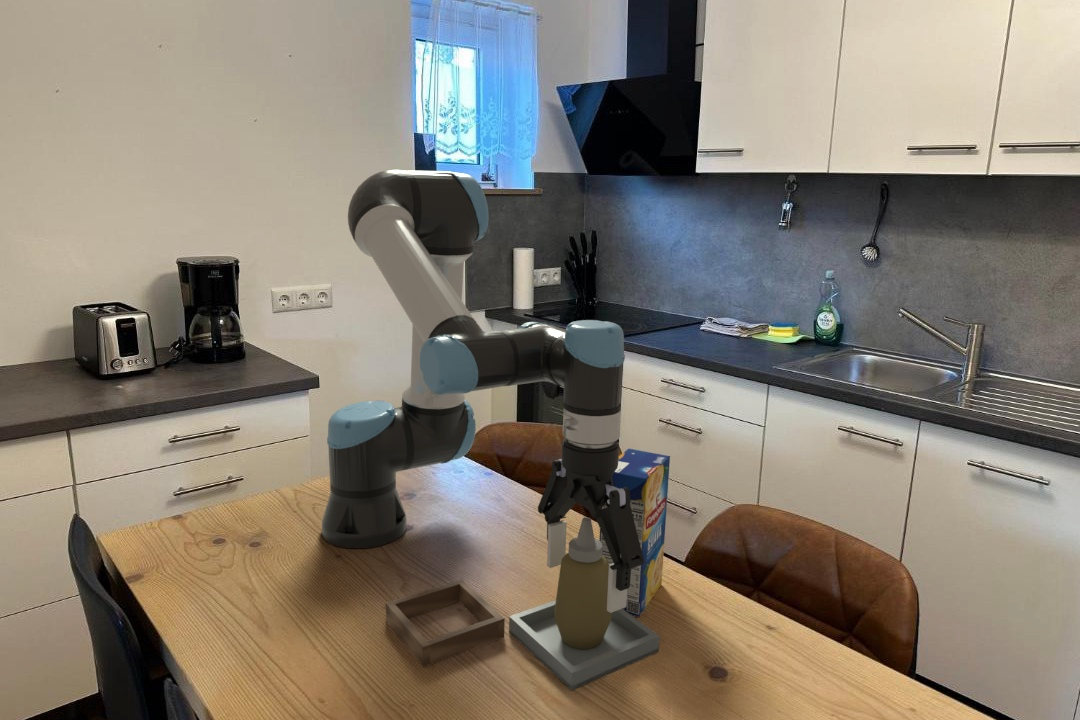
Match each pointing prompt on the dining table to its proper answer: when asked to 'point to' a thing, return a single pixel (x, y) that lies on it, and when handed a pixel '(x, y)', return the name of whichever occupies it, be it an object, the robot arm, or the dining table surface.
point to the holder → (451, 642)
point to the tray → (583, 666)
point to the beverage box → (644, 520)
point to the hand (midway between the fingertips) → (584, 585)
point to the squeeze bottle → (583, 591)
